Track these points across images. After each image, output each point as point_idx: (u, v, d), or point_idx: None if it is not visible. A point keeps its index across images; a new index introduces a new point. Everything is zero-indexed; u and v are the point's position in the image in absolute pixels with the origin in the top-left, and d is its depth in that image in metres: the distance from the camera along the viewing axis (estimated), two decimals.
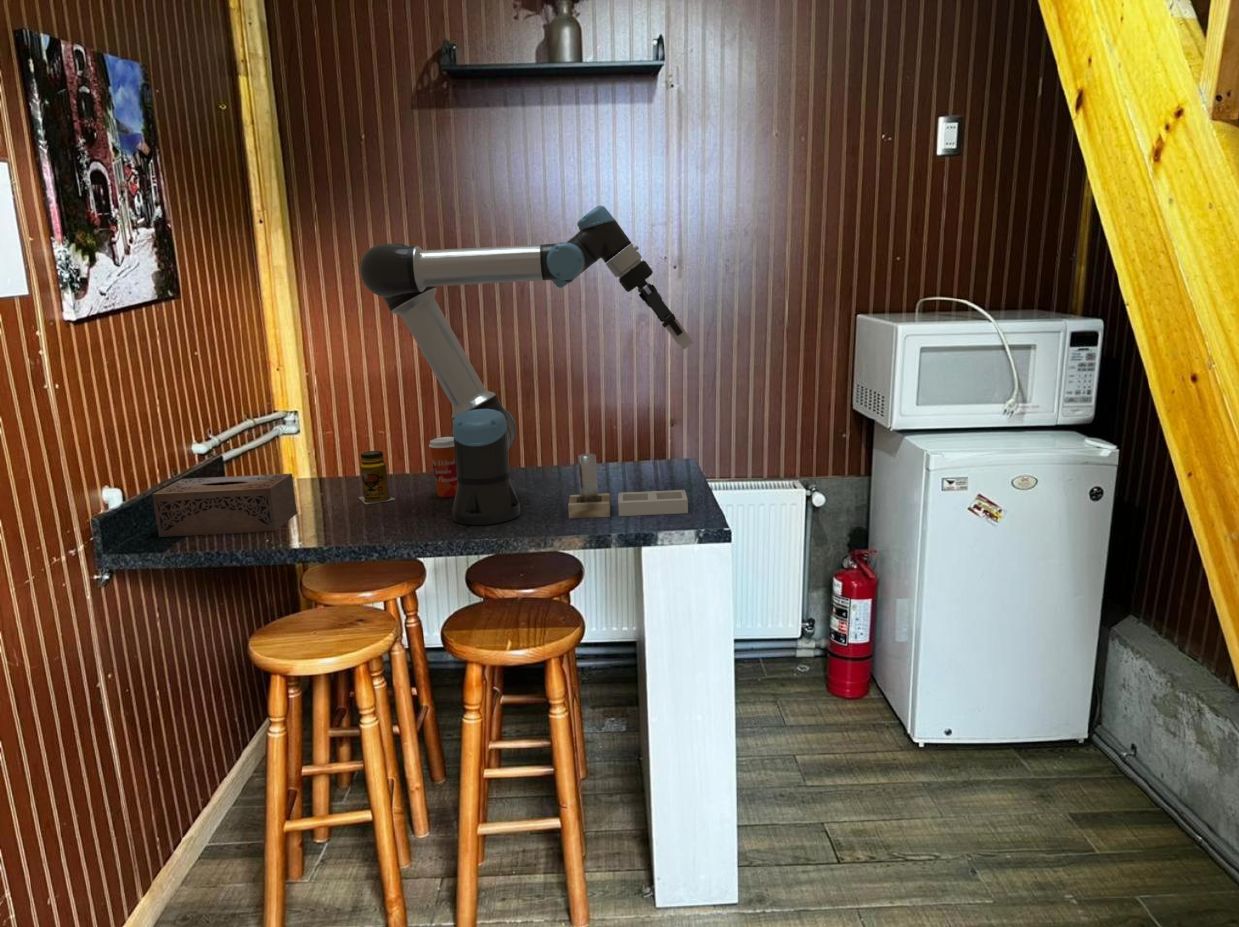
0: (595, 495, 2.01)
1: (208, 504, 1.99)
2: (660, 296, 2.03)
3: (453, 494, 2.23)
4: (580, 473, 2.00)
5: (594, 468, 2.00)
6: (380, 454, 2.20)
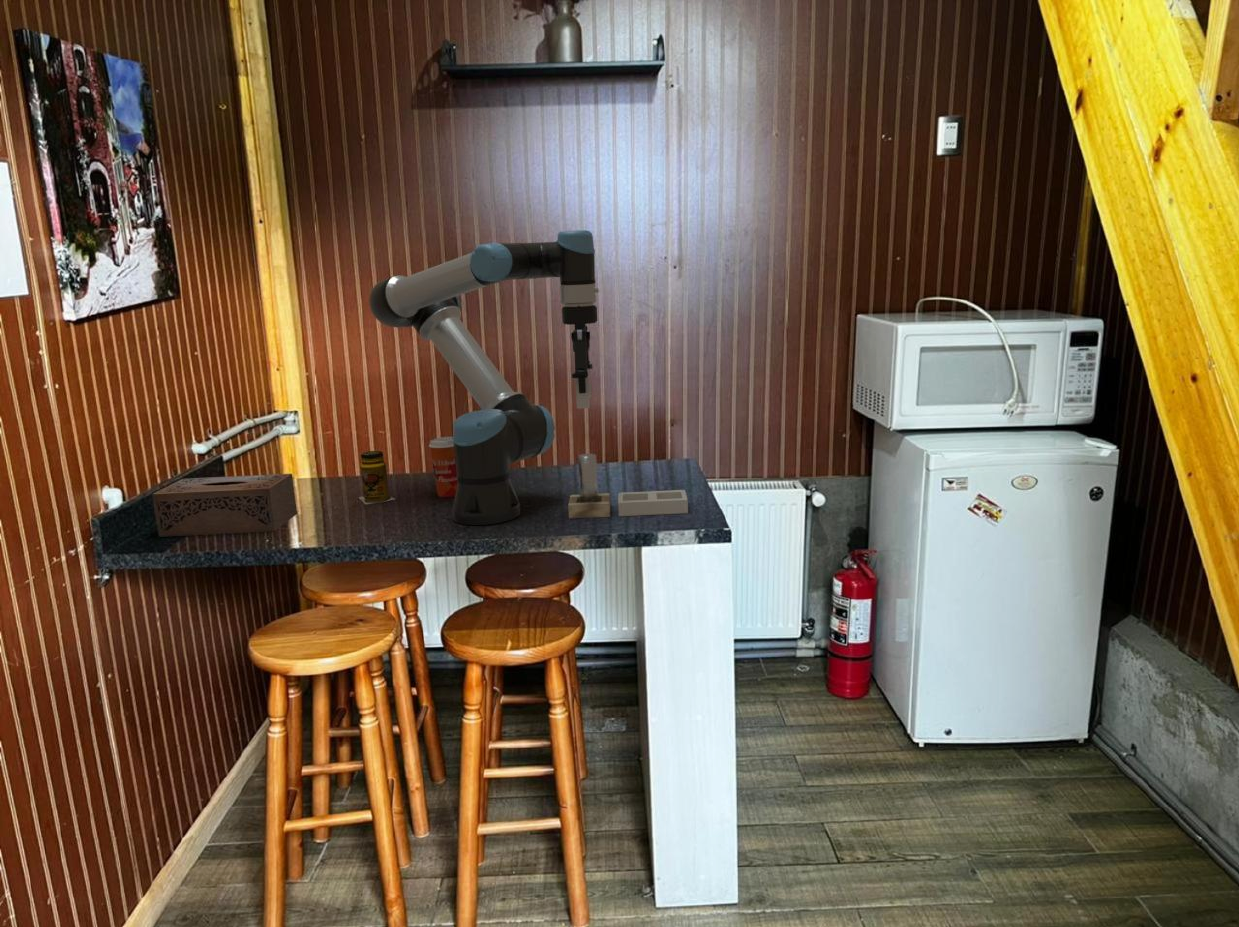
0: (595, 495, 2.01)
1: (208, 504, 1.99)
2: (588, 347, 1.91)
3: (453, 494, 2.23)
4: (580, 473, 2.00)
5: (594, 468, 2.00)
6: (380, 454, 2.20)
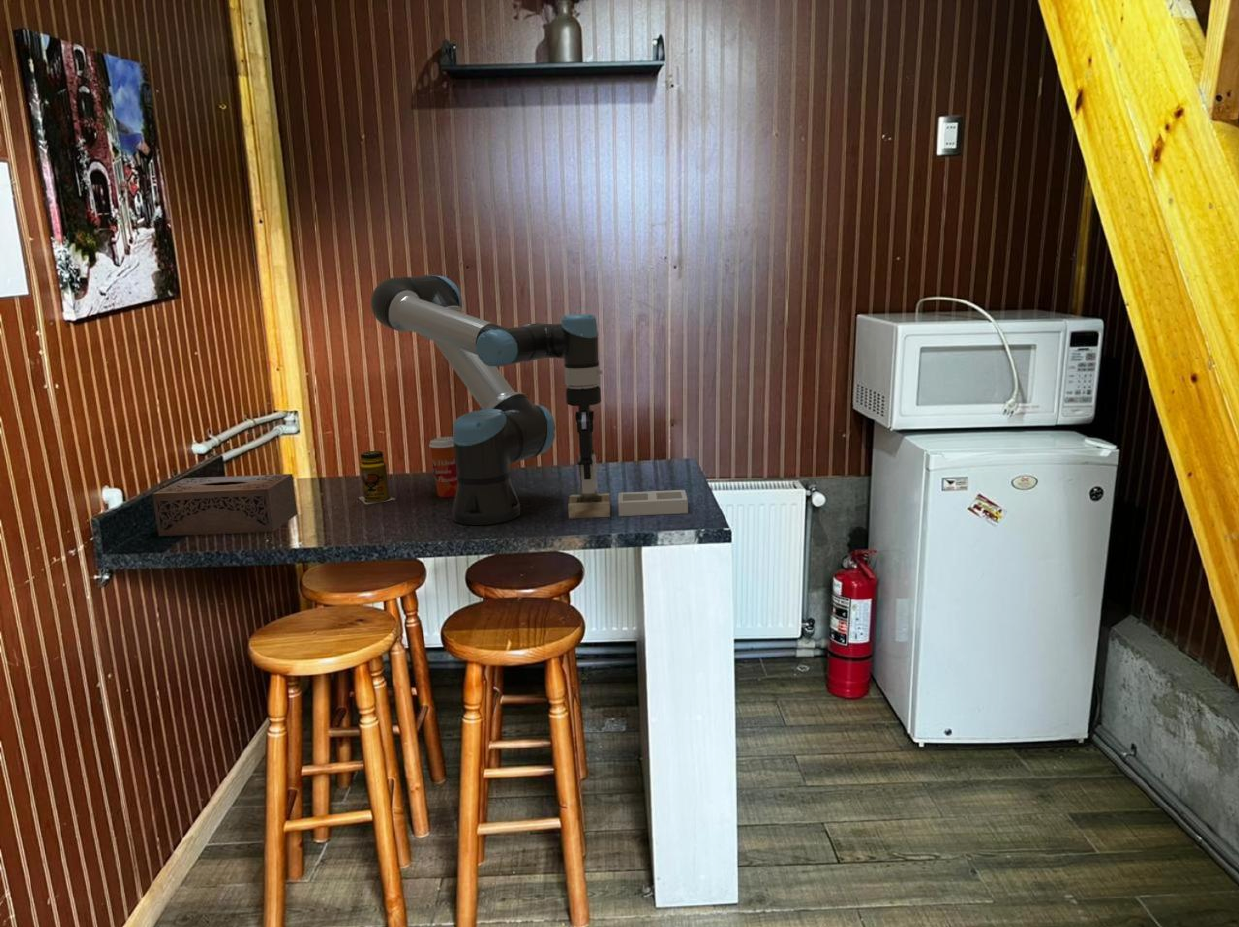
0: (595, 495, 2.01)
1: (207, 504, 1.99)
2: None
3: (453, 494, 2.23)
4: (580, 473, 2.00)
5: (594, 468, 2.00)
6: (380, 454, 2.20)
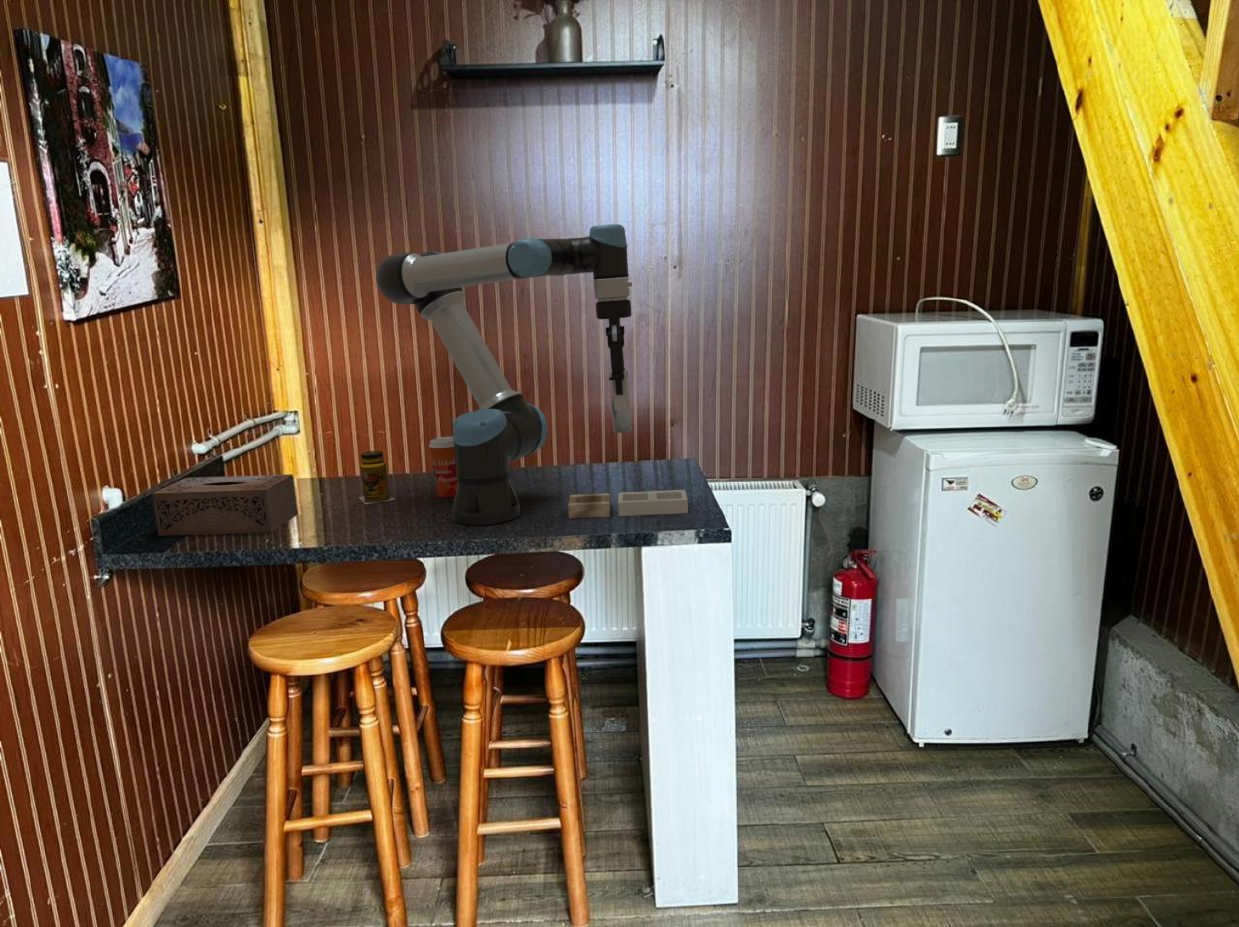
0: (627, 412, 1.96)
1: (206, 504, 1.99)
2: (623, 346, 1.92)
3: (453, 494, 2.23)
4: (611, 390, 1.95)
5: (626, 384, 1.95)
6: (380, 454, 2.20)
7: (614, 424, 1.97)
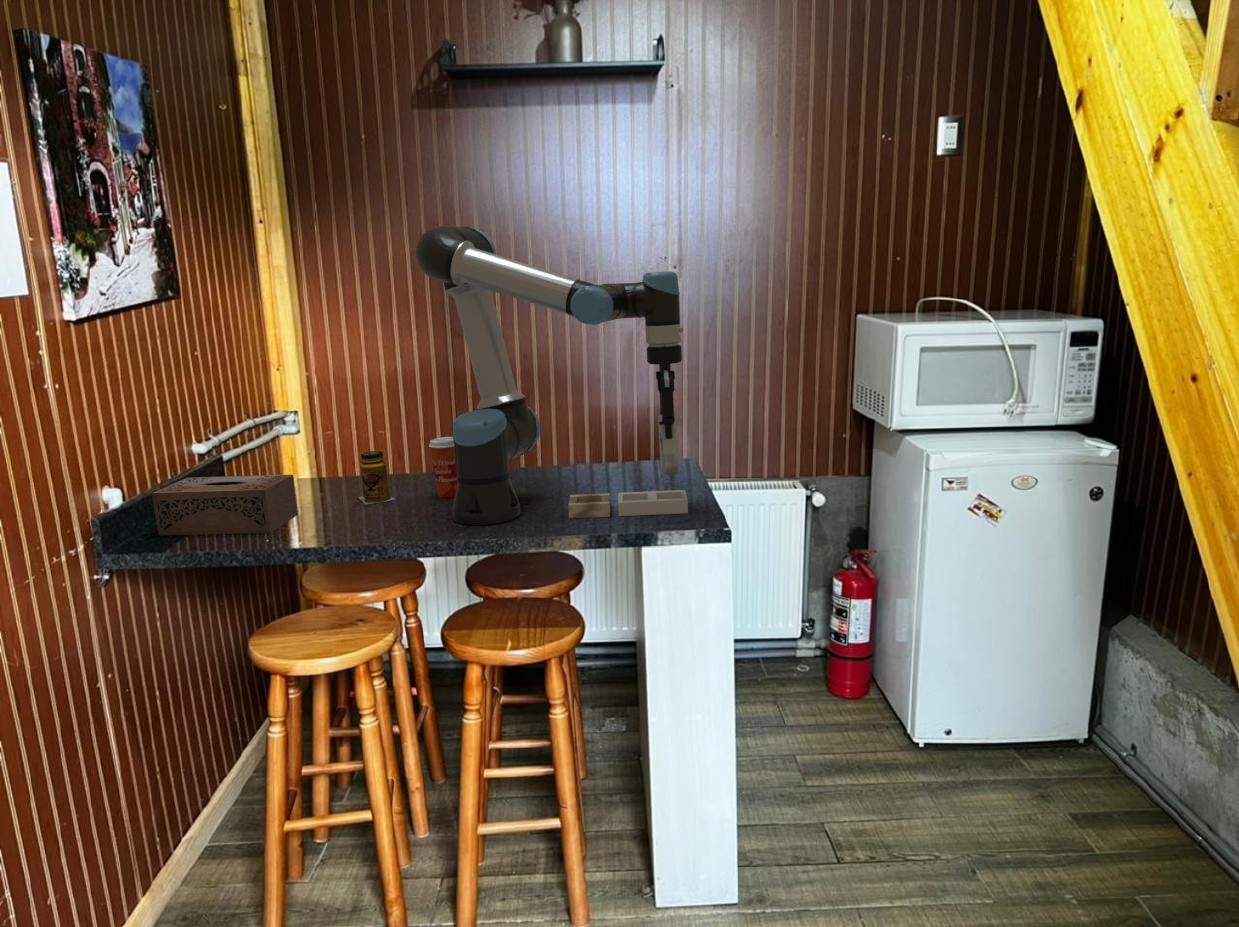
0: (675, 455, 1.99)
1: (205, 504, 1.99)
2: (673, 390, 1.95)
3: (453, 494, 2.23)
4: (660, 433, 1.98)
5: (675, 428, 1.98)
6: (380, 454, 2.20)
7: (662, 466, 1.99)
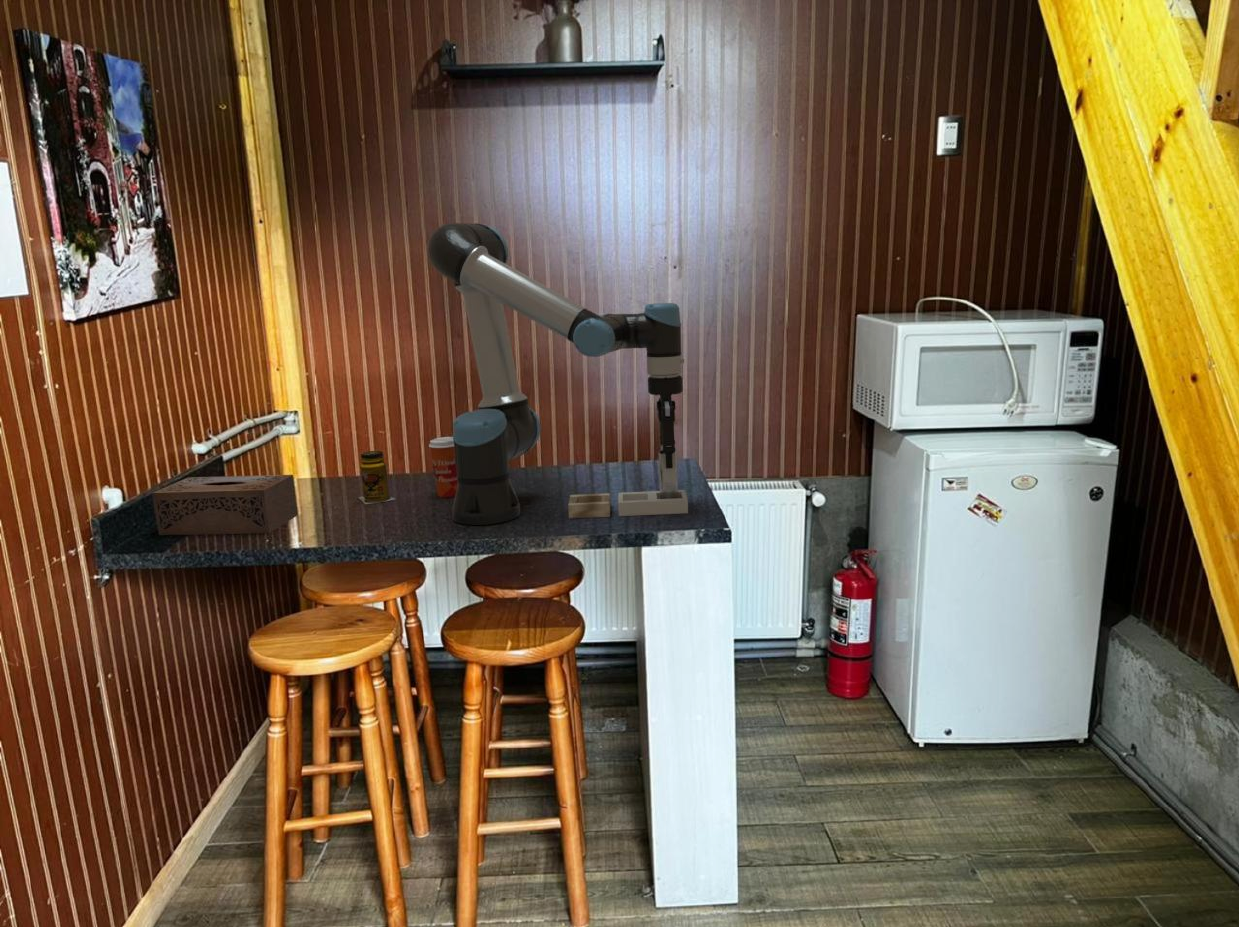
0: (675, 491, 2.01)
1: (205, 504, 1.99)
2: (674, 420, 1.95)
3: (453, 494, 2.23)
4: (661, 469, 2.00)
5: (675, 464, 2.00)
6: (380, 454, 2.20)
7: None
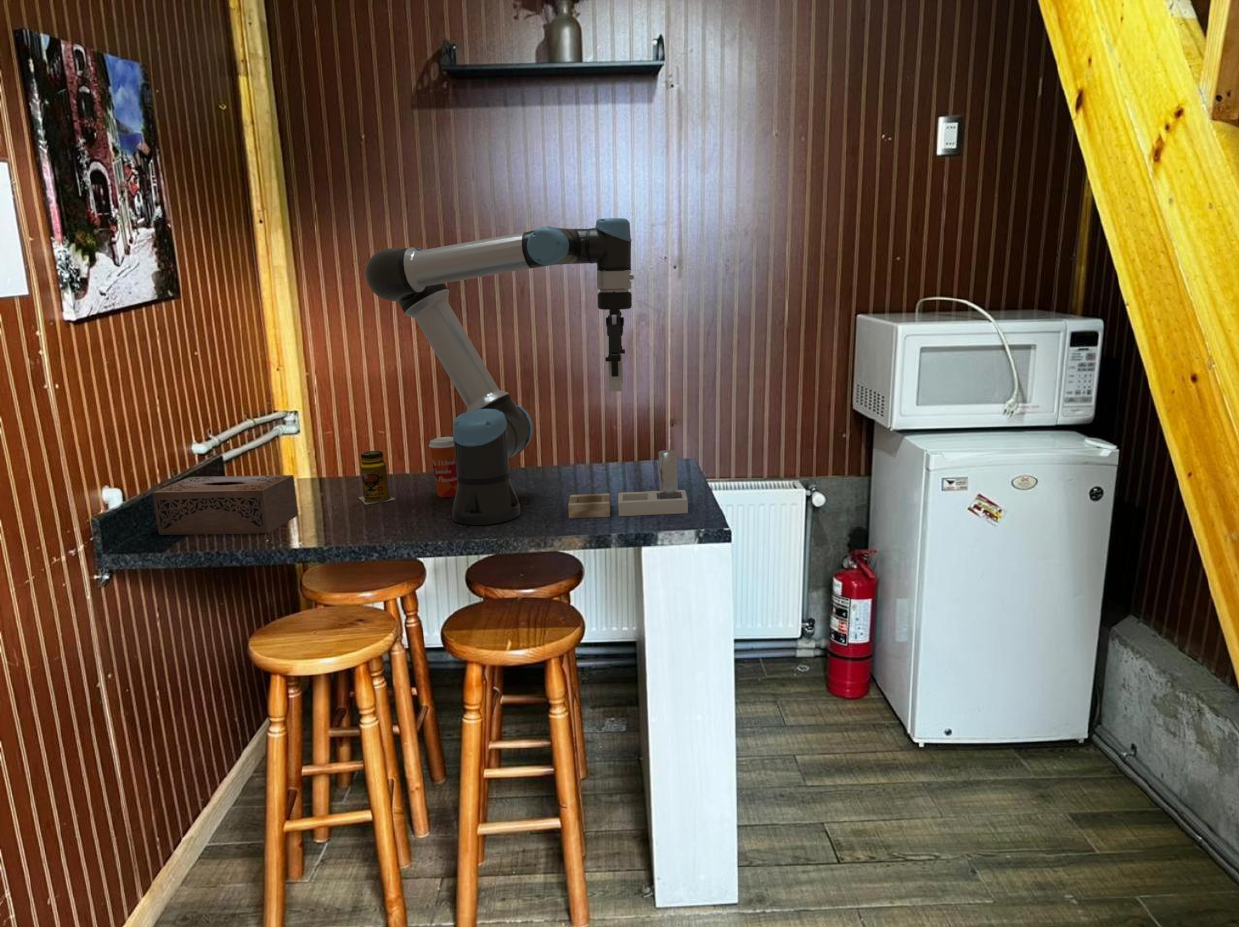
0: (675, 491, 2.01)
1: (204, 504, 1.99)
2: (622, 332, 1.97)
3: (453, 494, 2.23)
4: (661, 469, 2.00)
5: (675, 464, 1.99)
6: (380, 454, 2.20)
7: None
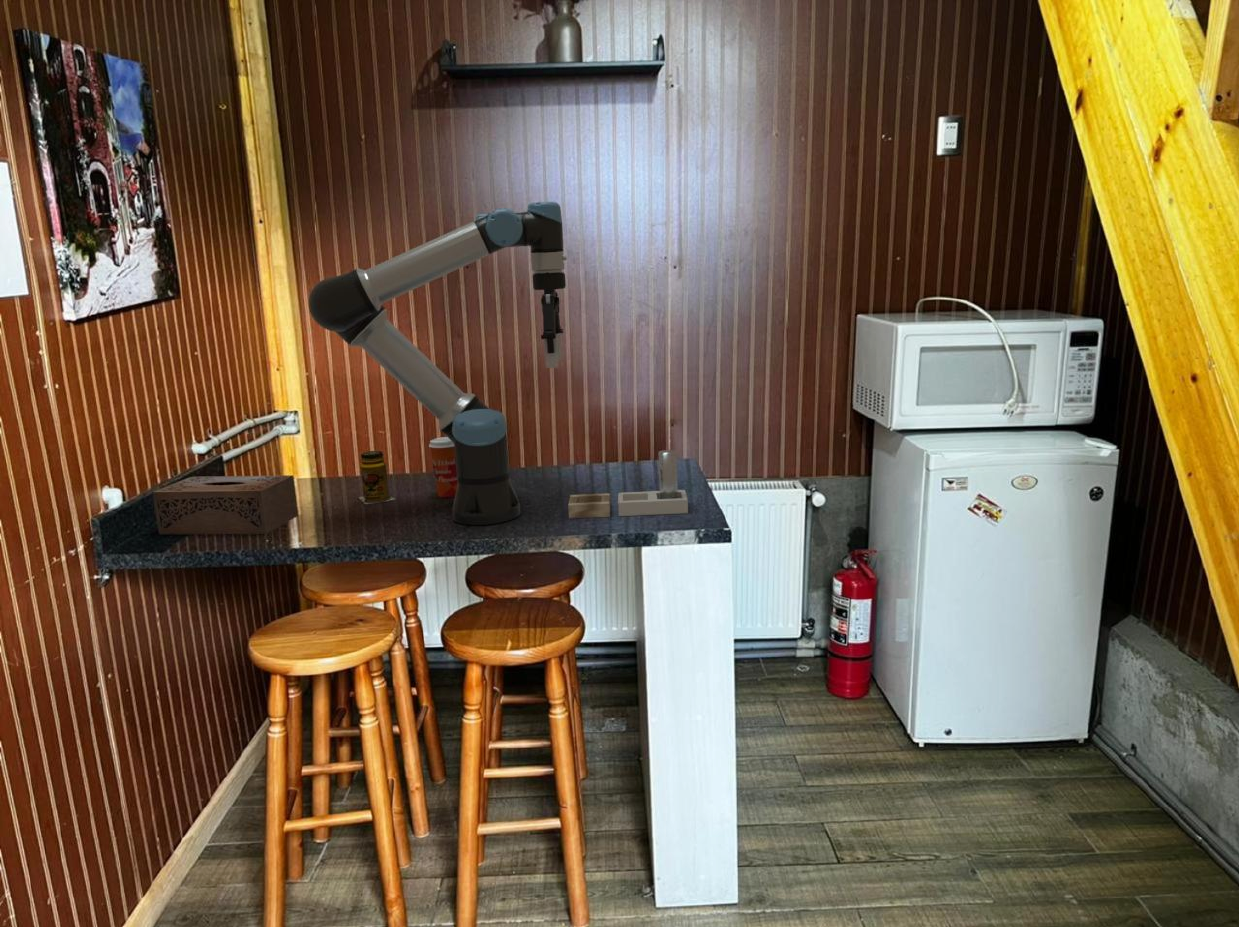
0: (675, 491, 2.01)
1: (203, 504, 1.99)
2: (556, 311, 2.06)
3: (453, 494, 2.23)
4: (661, 469, 2.00)
5: (675, 464, 1.99)
6: (380, 454, 2.20)
7: None
